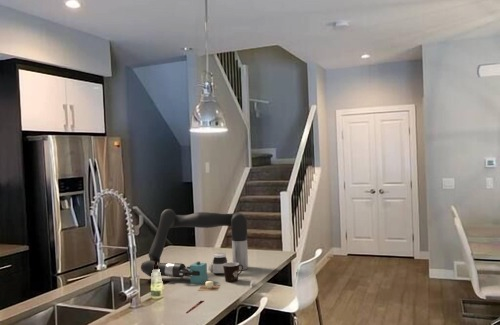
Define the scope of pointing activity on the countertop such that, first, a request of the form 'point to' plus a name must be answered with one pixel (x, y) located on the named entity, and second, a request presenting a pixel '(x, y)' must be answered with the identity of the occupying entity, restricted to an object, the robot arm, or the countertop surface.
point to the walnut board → (203, 288)
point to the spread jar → (218, 264)
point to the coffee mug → (231, 271)
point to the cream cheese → (209, 284)
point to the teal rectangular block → (201, 268)
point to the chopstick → (195, 306)
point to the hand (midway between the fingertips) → (202, 271)
